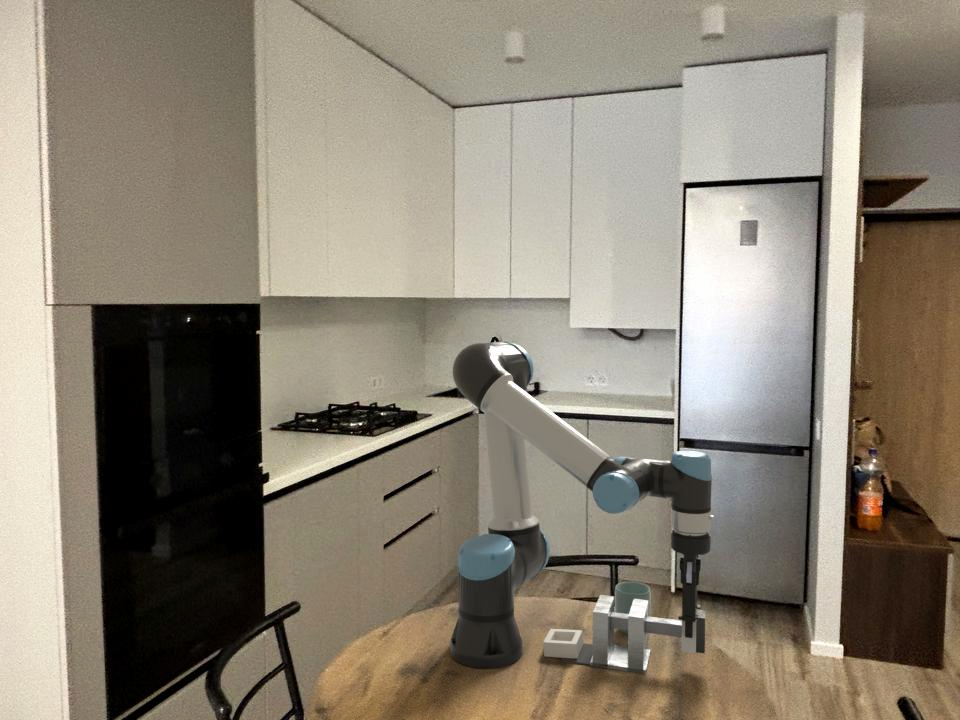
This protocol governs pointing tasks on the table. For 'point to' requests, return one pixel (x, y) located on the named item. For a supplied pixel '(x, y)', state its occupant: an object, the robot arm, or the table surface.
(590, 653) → the mat
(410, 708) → the table surface
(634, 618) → the bearing block
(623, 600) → the cup
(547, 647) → the block
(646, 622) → the shaft
